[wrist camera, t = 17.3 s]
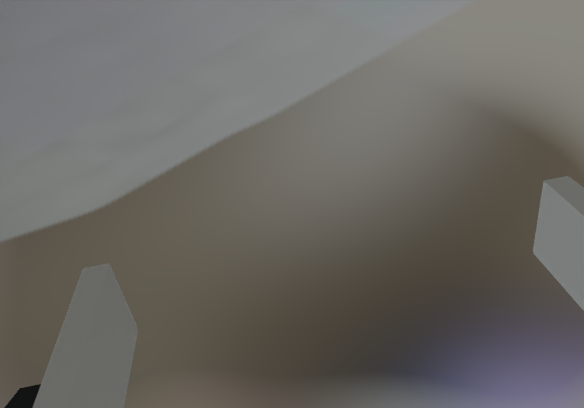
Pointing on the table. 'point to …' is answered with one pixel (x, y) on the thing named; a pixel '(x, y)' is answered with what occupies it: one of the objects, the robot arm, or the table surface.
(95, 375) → the robot arm
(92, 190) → the table surface
